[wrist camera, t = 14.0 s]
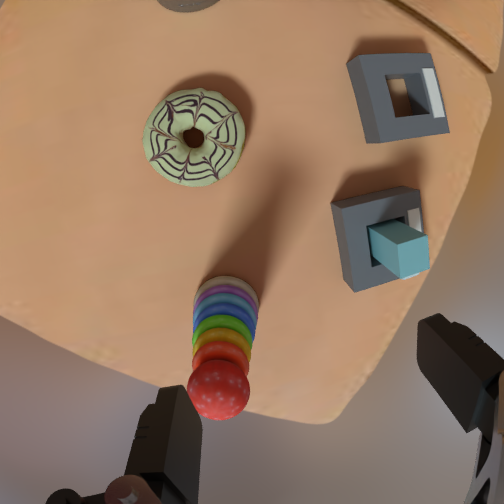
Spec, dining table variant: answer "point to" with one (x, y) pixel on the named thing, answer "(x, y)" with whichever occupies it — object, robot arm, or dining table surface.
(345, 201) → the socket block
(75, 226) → the dining table surface
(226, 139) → the decorated donut
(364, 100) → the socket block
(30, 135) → the dining table surface
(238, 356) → the stacking toy
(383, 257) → the plug
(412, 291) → the dining table surface
